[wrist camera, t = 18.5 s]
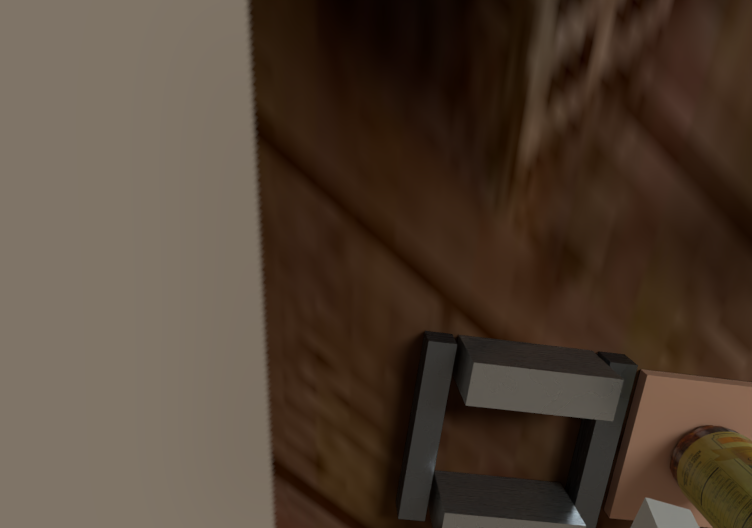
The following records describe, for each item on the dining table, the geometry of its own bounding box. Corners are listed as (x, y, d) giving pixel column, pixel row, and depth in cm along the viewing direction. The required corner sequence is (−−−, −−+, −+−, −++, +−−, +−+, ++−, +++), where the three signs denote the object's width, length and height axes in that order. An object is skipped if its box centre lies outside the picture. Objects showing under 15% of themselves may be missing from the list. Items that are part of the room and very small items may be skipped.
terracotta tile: (640, 369, 43) (647, 374, 42) (790, 386, 44) (800, 392, 43) (603, 509, 46) (609, 518, 45) (746, 523, 47) (754, 531, 46)
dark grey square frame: (424, 330, 42) (435, 358, 37) (624, 354, 43) (660, 383, 38) (382, 579, 46) (386, 632, 41) (563, 594, 47) (588, 647, 43)
